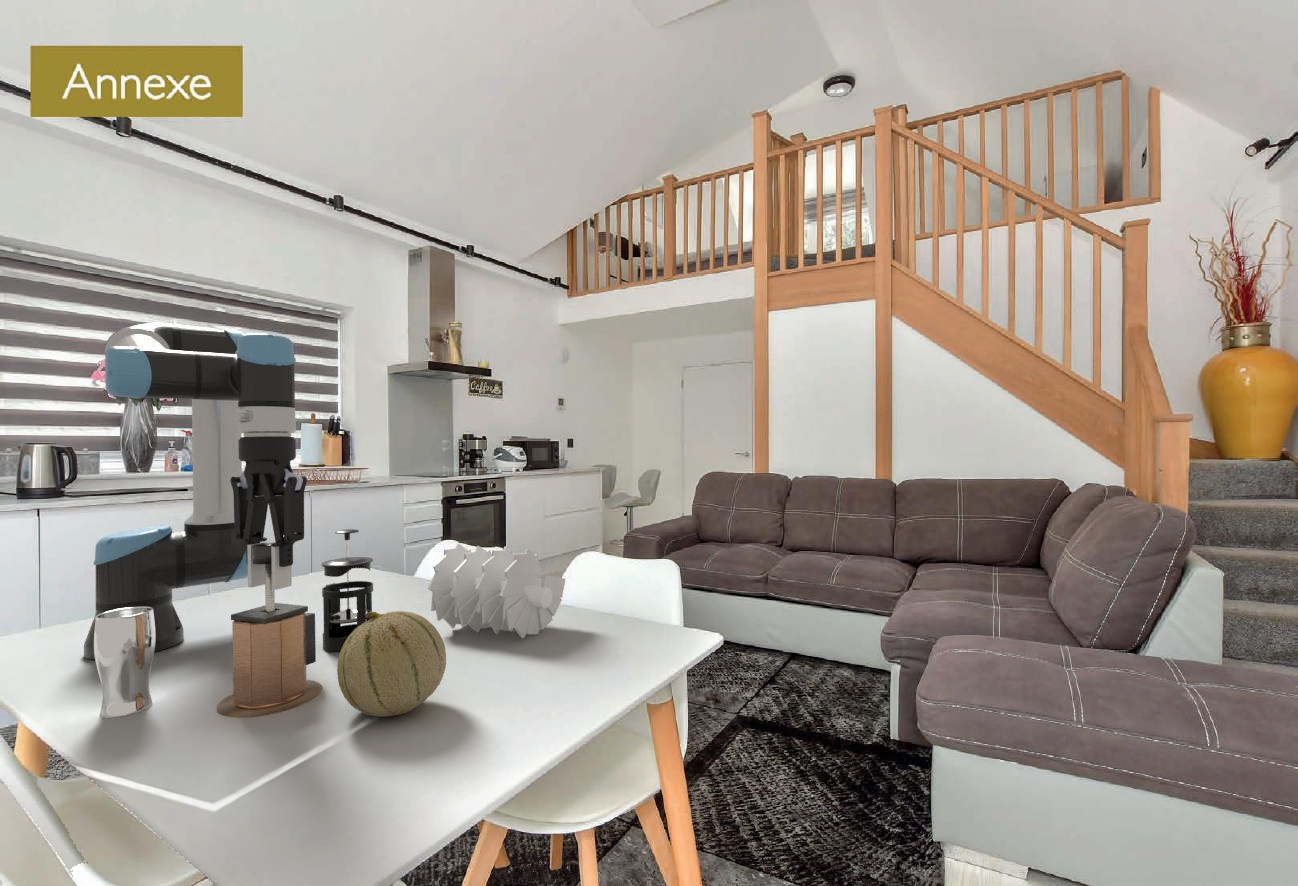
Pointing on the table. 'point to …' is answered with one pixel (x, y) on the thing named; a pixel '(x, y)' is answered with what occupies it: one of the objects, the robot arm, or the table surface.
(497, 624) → the spiral staircase
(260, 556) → the plunger
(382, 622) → the cantaloupe
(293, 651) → the carafe
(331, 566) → the french press
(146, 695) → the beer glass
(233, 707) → the coaster
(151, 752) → the table surface
